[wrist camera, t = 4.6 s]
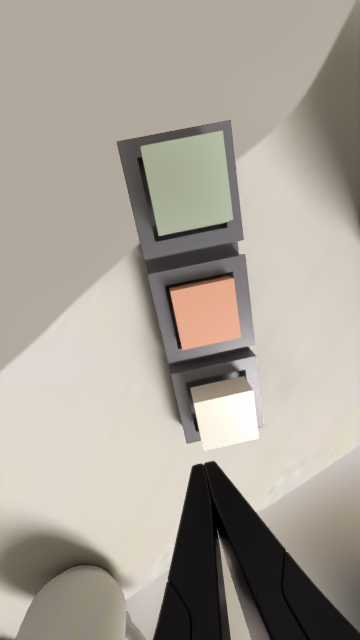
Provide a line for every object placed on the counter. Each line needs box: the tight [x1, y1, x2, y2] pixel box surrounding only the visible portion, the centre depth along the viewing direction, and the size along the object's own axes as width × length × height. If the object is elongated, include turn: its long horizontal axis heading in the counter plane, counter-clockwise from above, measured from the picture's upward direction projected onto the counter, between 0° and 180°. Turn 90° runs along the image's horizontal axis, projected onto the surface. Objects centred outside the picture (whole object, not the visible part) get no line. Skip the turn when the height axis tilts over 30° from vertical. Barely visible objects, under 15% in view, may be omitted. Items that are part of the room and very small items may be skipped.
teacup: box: [15, 565, 146, 640], centre depth 25 cm, size 14×11×8 cm
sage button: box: [140, 130, 233, 236], centre depth 14 cm, size 4×4×2 cm
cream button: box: [190, 376, 259, 451], centre depth 19 cm, size 4×4×2 cm
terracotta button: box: [169, 275, 241, 350], centre depth 18 cm, size 4×4×2 cm
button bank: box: [117, 120, 264, 444], centre depth 19 cm, size 23×7×2 cm, turn 11°
